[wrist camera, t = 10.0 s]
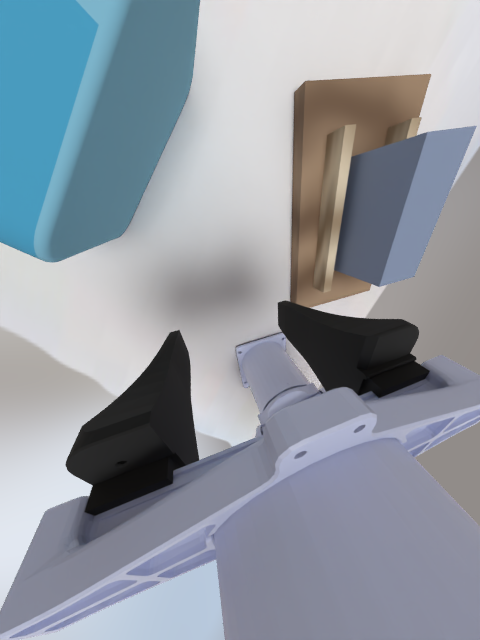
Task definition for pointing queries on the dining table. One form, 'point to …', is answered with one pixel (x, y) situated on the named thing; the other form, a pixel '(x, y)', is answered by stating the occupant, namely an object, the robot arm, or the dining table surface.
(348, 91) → the shelf board
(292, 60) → the dining table surface
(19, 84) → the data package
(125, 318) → the dining table surface
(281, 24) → the dining table surface
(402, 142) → the slate blue book
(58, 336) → the dining table surface
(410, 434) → the robot arm
